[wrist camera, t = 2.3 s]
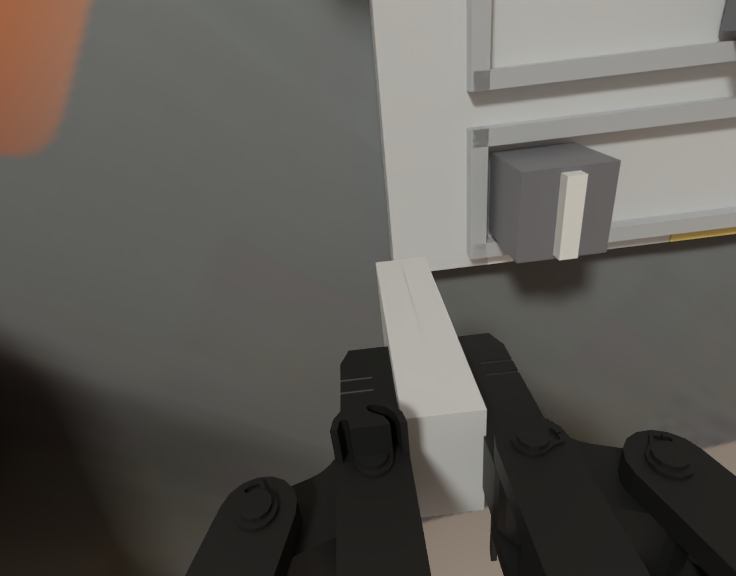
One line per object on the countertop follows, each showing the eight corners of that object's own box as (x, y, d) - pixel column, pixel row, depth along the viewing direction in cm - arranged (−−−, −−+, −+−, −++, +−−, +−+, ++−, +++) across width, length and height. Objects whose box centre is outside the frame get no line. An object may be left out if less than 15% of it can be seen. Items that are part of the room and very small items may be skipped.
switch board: (391, 264, 26) (396, 282, 24) (360, -95, 18) (364, -113, 16) (805, 212, 26) (845, 226, 24) (943, -161, 19) (1018, -187, 17)
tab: (488, 230, 23) (521, 269, 19) (490, 151, 22) (527, 176, 17) (565, 221, 23) (613, 258, 19) (573, 141, 22) (629, 163, 18)
